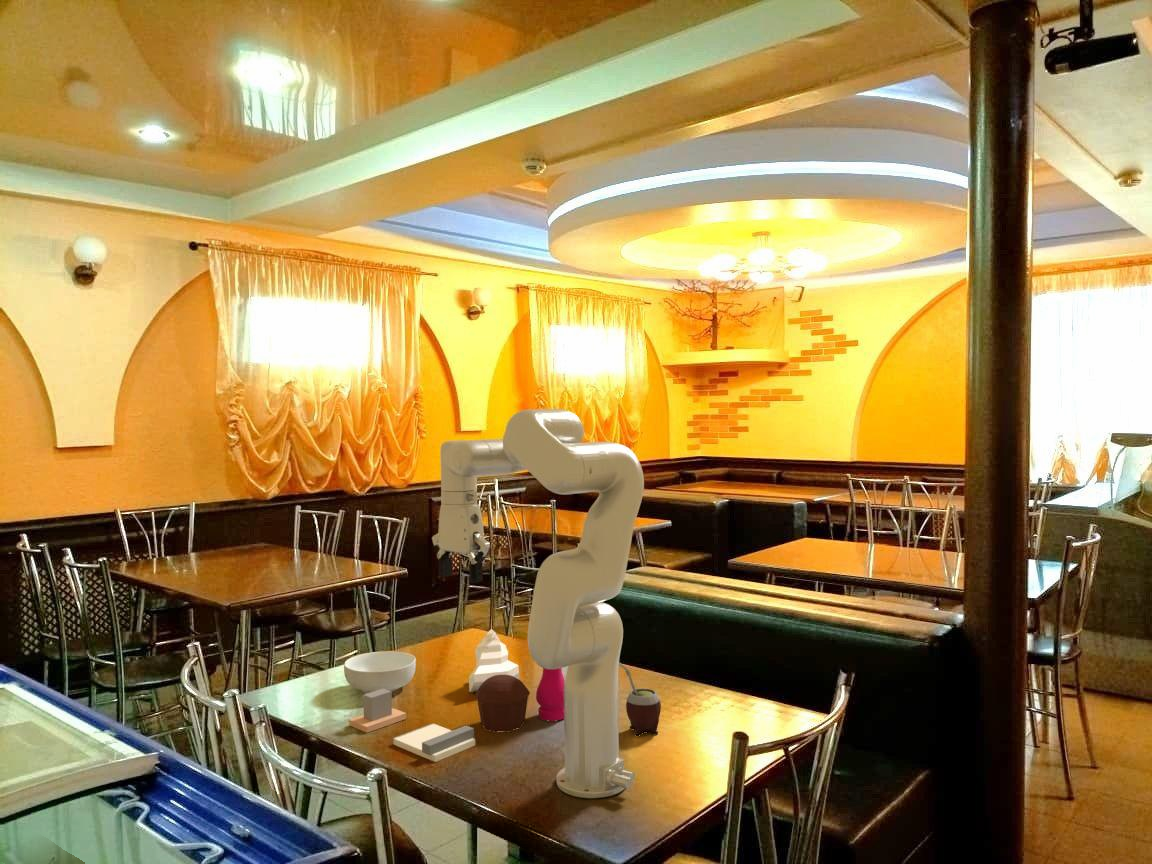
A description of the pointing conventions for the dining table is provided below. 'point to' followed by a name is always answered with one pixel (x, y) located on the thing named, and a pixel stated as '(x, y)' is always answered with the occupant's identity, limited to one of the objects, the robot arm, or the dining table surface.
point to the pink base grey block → (377, 712)
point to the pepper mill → (551, 695)
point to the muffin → (502, 703)
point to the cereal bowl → (379, 670)
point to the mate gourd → (642, 708)
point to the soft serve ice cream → (491, 661)
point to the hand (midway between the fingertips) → (460, 579)
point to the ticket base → (427, 735)
